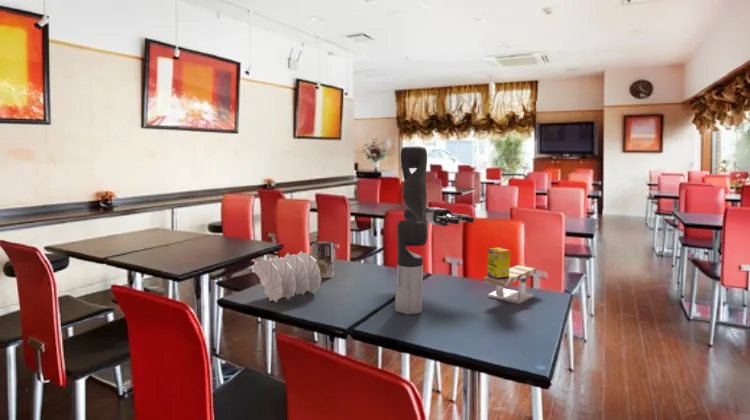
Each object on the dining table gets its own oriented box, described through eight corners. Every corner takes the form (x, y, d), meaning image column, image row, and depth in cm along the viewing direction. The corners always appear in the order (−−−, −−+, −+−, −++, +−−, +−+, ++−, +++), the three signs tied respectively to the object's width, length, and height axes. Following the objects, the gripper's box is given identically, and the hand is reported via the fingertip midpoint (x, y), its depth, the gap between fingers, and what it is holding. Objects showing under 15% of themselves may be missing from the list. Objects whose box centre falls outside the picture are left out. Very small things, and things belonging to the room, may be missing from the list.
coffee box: (334, 274, 222) (334, 241, 220) (331, 278, 215) (331, 243, 213) (315, 274, 223) (315, 240, 221) (312, 277, 216) (311, 243, 214)
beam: (503, 286, 174) (503, 280, 174) (484, 282, 179) (484, 277, 179) (535, 272, 194) (536, 267, 194) (517, 269, 200) (518, 264, 200)
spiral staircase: (320, 302, 193) (269, 313, 175) (297, 277, 203) (246, 285, 185) (334, 266, 187) (282, 274, 168) (309, 241, 197) (258, 247, 179)
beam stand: (518, 303, 179) (519, 281, 178) (488, 296, 188) (489, 275, 187) (532, 297, 188) (533, 275, 187) (502, 290, 197) (503, 269, 196)
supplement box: (486, 276, 181) (487, 248, 179) (499, 274, 183) (500, 247, 182) (497, 279, 175) (498, 251, 174) (509, 278, 178) (510, 249, 176)
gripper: (426, 209, 199) (453, 212, 186) (450, 207, 207) (478, 210, 194) (426, 226, 200) (452, 231, 187) (450, 223, 208) (477, 228, 195)
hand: (465, 220), depth 191 cm, fingers open, 8 cm apart
